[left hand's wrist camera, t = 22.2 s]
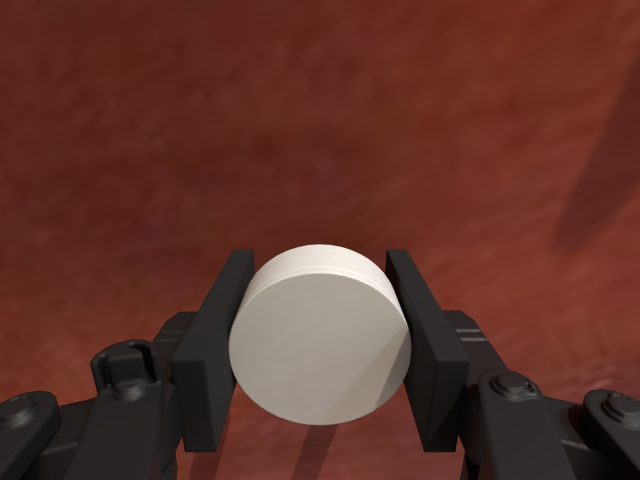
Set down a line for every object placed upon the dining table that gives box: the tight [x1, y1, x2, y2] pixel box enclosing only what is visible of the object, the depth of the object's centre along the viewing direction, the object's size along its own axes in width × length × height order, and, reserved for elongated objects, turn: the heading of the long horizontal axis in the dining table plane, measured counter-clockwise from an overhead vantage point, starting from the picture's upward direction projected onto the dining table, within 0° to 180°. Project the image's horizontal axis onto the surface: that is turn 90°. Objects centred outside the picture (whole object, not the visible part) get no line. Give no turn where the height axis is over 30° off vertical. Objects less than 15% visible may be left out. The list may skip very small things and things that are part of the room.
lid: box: [229, 245, 412, 425], centre depth 11 cm, size 5×5×2 cm
